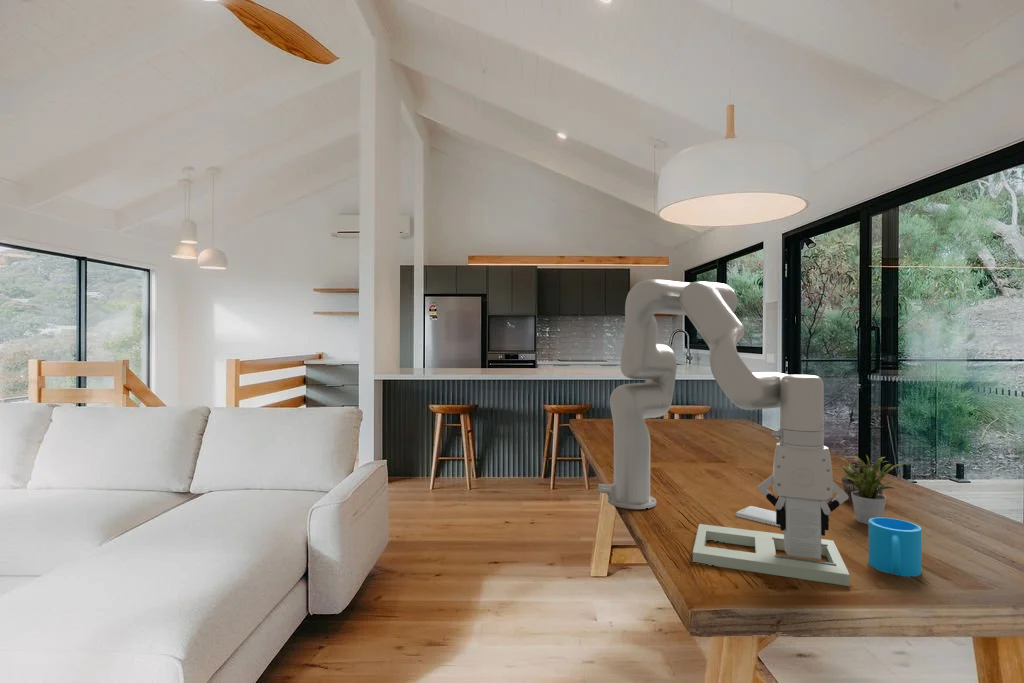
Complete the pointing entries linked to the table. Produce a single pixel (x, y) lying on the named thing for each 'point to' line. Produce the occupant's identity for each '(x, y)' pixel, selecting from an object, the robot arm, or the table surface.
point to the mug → (895, 546)
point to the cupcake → (847, 482)
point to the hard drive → (758, 515)
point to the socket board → (767, 555)
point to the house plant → (868, 490)
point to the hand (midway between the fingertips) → (801, 530)
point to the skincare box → (802, 528)
